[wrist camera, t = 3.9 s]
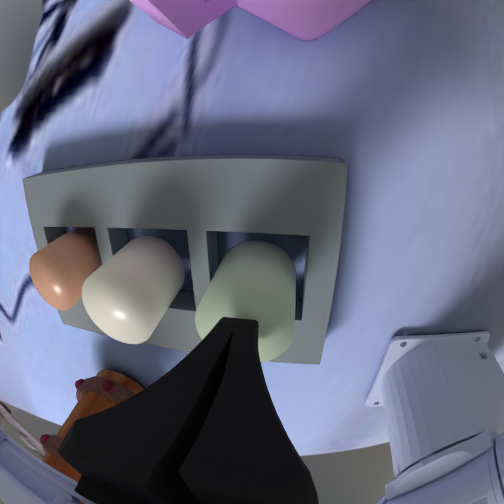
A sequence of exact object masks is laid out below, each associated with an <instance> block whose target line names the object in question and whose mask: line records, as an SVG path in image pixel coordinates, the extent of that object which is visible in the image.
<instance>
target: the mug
mask: <svg viewBox="0 0 504 504" xmlns="http://www.w3.org/2000/svg"><path fill="white" fill-rule="evenodd" d="M75 386H76V388H77V392H76V396H77V400H78V403H77V404H76V406H75V407H74V409H73V411H72V412H71V414H70V415H69V417H68V418H67V420H66V421H65V423H64V424H63V425H62V427H61V429H60V430H59V432H58V434H57V435H47V434H45V435H42V436H41V438H40V441H41V443H42V445H43V451H44V453H45V454H46V455H45V456H44V458H43V460H42V461H43V462H44V463H46V464H48V465H49V466H51V467H52V468H54V469H56V470H57V471H59V472H60V473H62V474H64V475H66V476H67V477H69V478H71V479H73V480H74V481H76V482H79V480H80V478H81V476H82V474H80V473H79V472H78V471H77V470H76V469H74V468H73V467H72V466H71V465H70V464H69V463H68V462H66V461H65V460H64V459H63V458H62V457H61V456H60V454H59V452H58V448H59V446H60V445H61V443H62V441H63V439H64V438H65V436H66V434H67V432H68V431H69V429H70V427H71V426H72V425H73V423H74V422H75V420H78V419H81V418H84V417H87V416H90V415H93V414H95V413H98V412H101V411H103V410H106V409H108V408H110V407H112V406H114V405H116V404H118V403H120V402H122V401H124V400H126V399H128V398H130V397H132V396H134V395H135V394H137V393H139V392H140V391H142V390H144V388H143V387H142V386H141V385H140V384H138V383H137V382H135V381H134V380H133V379H131V378H129V377H127V376H125V375H123V374H121V373H117V372H115V371H112V370H109V369H107V370H102V371H100V372H98V374H97V375H96V376H95V377H91V378H87V379H85V380H83V379H80V380H78V381H76V382H75ZM79 501H80V500H79ZM80 503H81V504H85V503H84V502H82V501H80Z"/></svg>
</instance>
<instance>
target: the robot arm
mask: <svg viewBox="0 0 504 504" xmlns="http://www.w3.org/2000/svg"><path fill="white" fill-rule="evenodd" d="M258 329H259V323H258V322H257V321H256V320H252V319H241V318H230V317H222V318H221V319H220V320H219V321H218V322H217V324H216V325H215V326H214V327H213V328H212V330H211V331H210V332H209V333H208V334H207V335H206V336H205V337H204V339H203V340H202V341H201V342H200V343H199V344H198V345H197V346H196V347H195V348H194V349H193V350H192V351H191V352H190V353H189V354H188V355H187V356H186V357H185V358H184V359H182V360H181V361H180V362H179V363H178V364H177V365H176V366H175V367H174V368H172V369H171V370H170V371H169V372H167V373H166V374H165V375H164V376H162V377H161V378H160V379H158V380H157V381H156V382H154V383H153V384H151V385H150V386H148V387H147V388H145V389H144V390H142V391H140V392H139V393H137V394H135V395H134V396H132V397H130V398H128V399H126V400H124V401H122V402H120V403H118V404H116V405H114V406H112V407H110V408H108V409H106V410H103V411H101V412H98V413H95V414H93V415H90V416H87V417H84V418H81V419H78V420H75V422H74V423H73V425H72V426H71V427H70V429H69V431H68V432H67V434H66V436H65V438H64V439H63V441H62V443H61V445H60V446H59V448H58V452H59V454H60V456H61V457H62V458H63V459H64V460H65V461H66V462H68V463H69V464H70V465H71V466H72V467H73V468H74V469H76V470H77V471H78V472H79V473H80V474H82V476H81V478H80V480H79V482H76V481H74V480H73V479H71V478H69V477H67V476H66V475H64V474H62V473H60V472H59V471H57V470H56V469H54V468H52V467H51V466H49V465H48V464H46V463H44V462H43V461H41V460H40V459H38V458H37V457H35V456H34V455H33V454H31V453H30V452H28V451H27V450H26V449H24V448H23V447H21V446H20V445H19V444H17V443H16V442H15V441H14V440H12V439H11V438H10V437H9V436H7V435H6V433H5V432H4V431H3V430H2V429H1V428H0V498H1V499H2V500H3V501H4V502H5V503H6V504H81V503H80V501H82V502H84V503H85V504H318V496H317V492H316V489H315V486H314V483H313V480H312V477H311V474H310V471H309V470H308V468H307V467H306V465H305V464H304V462H303V461H302V459H301V458H300V456H299V454H298V453H297V451H296V450H295V448H294V446H293V444H292V442H291V441H290V439H289V437H288V435H287V433H286V431H285V429H284V427H283V425H282V423H281V421H280V419H279V417H278V415H277V412H276V410H275V407H274V405H273V402H272V400H271V397H270V394H269V391H268V388H267V385H266V382H265V378H264V375H263V371H262V367H261V362H260V357H259V351H258ZM489 339H490V333H489V332H488V331H482V332H470V333H456V334H439V335H415V336H395V337H393V338H392V339H391V340H390V343H389V345H388V348H387V351H386V353H385V356H384V358H383V361H382V363H381V366H380V368H379V371H378V373H377V376H376V378H375V380H374V383H373V385H372V387H371V389H370V392H369V394H368V396H367V398H366V400H365V405H366V406H368V407H373V406H384V409H385V415H386V421H387V427H388V433H389V439H390V446H391V453H392V461H393V469H394V479H395V480H394V481H392V482H390V483H388V484H386V485H385V488H386V496H385V497H383V498H382V499H381V500H380V501H379V502H378V504H504V373H503V371H502V369H501V368H500V366H499V364H498V362H497V360H496V359H495V357H494V355H493V353H492V352H491V350H490V348H489V347H488V345H487V342H488V341H489ZM402 342H404V343H402ZM79 500H80V501H79Z"/></svg>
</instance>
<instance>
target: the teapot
mask: <svg viewBox="0 0 504 504" xmlns="http://www.w3.org/2000/svg"><path fill="white" fill-rule="evenodd" d="M130 1H131V2H132V3H134V4H135V5H136V6H137V7H139V8H140V9H141V10H142V11H144V12H145V13H146V14H147V15H149V16H150V17H151V18H152V19H153V20H155V21H156V22H157V23H158V24H160V25H162V26H164V27H166V28H168V29H170V30H172V31H174V32H176V33H178V34H179V35H181V36H183V37H185V38H187V39H188V38H189V37H191V36H192V35H193V34H195V33H196V32H197V31H199V30H200V29H202V28H203V27H204V26H206V25H207V24H209V23H210V22H211V21H213V20H214V19H216V18H217V17H219V16H220V15H222V14H223V13H225V12H226V11H228V10H230V9H231V8H233V7H234V6H237V7H239V8H241V9H243V10H245V11H247V12H249V13H251V14H253V15H255V16H257V17H259V18H261V19H263V20H264V21H266V22H268V23H270V24H272V25H273V26H275V27H277V28H279V29H281V30H283V31H284V32H286V33H288V34H290V35H292V36H293V37H295V38H298V39H300V40H302V41H311V40H315V39H317V38H319V37H321V36H323V35H325V34H326V33H328V32H329V31H331V30H332V29H333V28H335V27H336V26H338V25H339V24H341V23H342V22H344V21H345V20H346V19H348V18H349V17H350V16H352V15H353V14H355V13H356V12H357V11H359V10H360V9H361V8H363V7H364V6H365V5H367V4H368V3H369V2H371V1H372V0H130Z"/></svg>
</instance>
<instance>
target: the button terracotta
mask: <svg viewBox="0 0 504 504" xmlns="http://www.w3.org/2000/svg"><path fill="white" fill-rule="evenodd" d="M100 266H102V261H101V256H100V252H99V247H98V243H97V238H96V233H95V230H94V229H93V228H91V227H75V228H73V229H72V230H70V231H68V232H67V233H65V234H64V235H62V236H60V237H59V238H57V239H56V240H54V241H53V242H51V243H50V244H48V245H47V246H45V247H44V248H42V249H41V250H39V251H38V252H36V253H35V254H33V255H32V257H31V259H30V265H29V267H30V274H31V278H32V281H33V283H34V285H35V287H36V289H37V291H38V292H39V294H40V295H41V296H42V297H43V299H44V300H45V301H46V302H47V303H48V304H50V305H51V306H52V307H54V308H56V309H58V310H62V311H65V310H69V309H70V308H71V307H72V306H73V305H74V304H75V303H76V302H77V301H78V300H79V299H80V298H81V297H82V287H83V284H84V281H85V280H86V279H87V278H88V277H89V276H90V275H91V274H92V273H93V272H95V271H96V270H97V269H98V268H99V267H100Z"/></svg>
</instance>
